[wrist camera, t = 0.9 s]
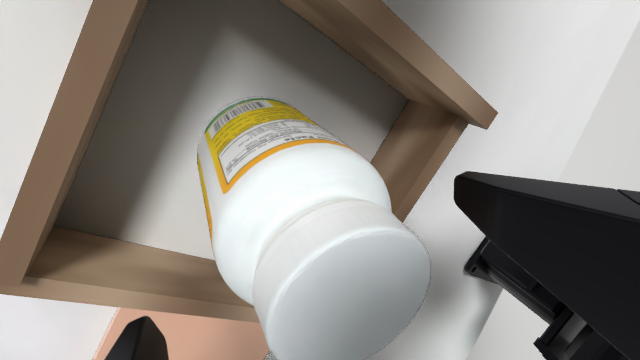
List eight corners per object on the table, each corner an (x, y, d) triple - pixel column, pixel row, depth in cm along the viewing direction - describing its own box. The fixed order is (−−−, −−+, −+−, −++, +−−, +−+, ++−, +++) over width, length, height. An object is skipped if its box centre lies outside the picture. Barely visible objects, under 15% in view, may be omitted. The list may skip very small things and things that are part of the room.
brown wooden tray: (426, 93, 17) (498, 112, 13) (303, 291, 20) (334, 354, 16) (165, -121, 10) (162, -209, 6) (21, 237, 12) (-44, 331, 9)
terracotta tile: (288, 308, 20) (291, 315, 19) (230, 400, 21) (232, 410, 21) (129, 284, 15) (127, 293, 14) (68, 406, 16) (65, 418, 16)
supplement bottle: (220, 73, 13) (305, 156, 5) (328, 120, 15) (495, 222, 8) (178, 190, 14) (188, 410, 6) (285, 214, 17) (388, 386, 9)
